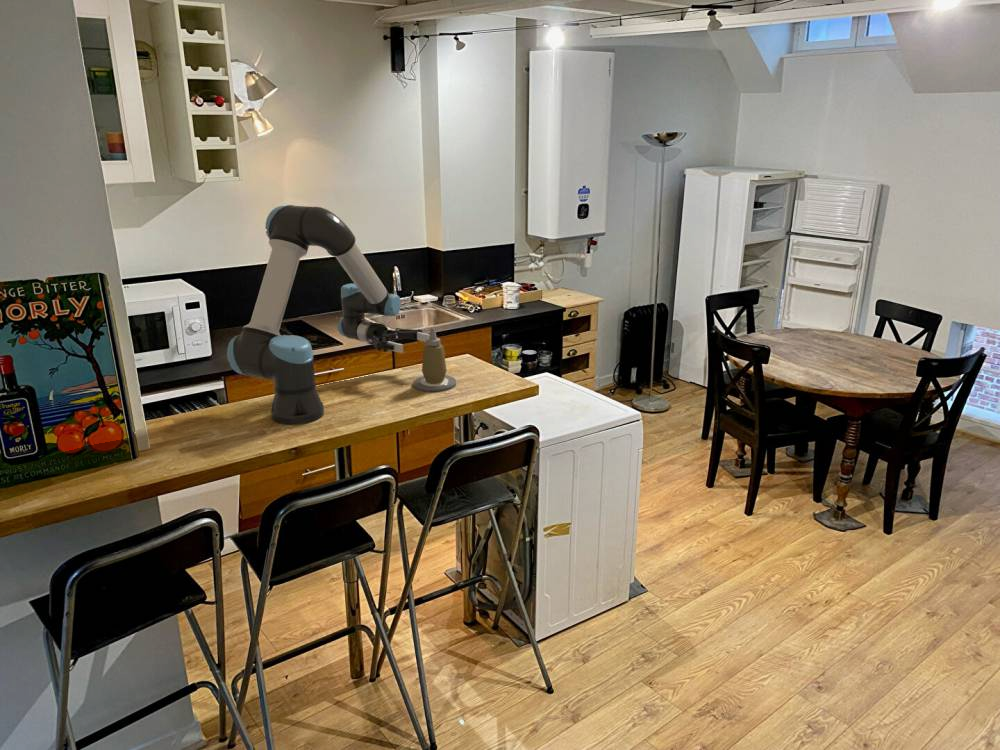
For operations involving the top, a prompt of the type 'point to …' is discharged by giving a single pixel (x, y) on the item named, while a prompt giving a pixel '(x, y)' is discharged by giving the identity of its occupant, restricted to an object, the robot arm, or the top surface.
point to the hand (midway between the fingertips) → (417, 344)
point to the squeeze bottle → (433, 360)
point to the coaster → (424, 386)
